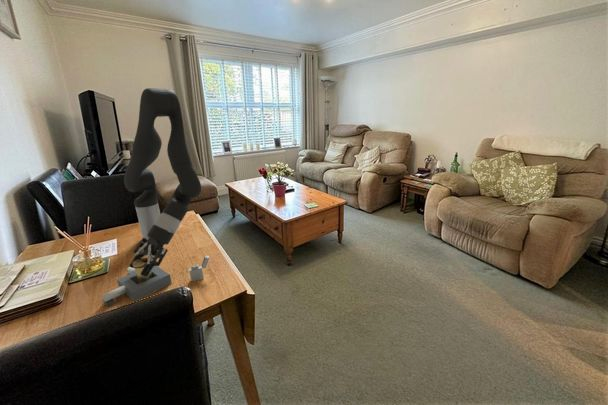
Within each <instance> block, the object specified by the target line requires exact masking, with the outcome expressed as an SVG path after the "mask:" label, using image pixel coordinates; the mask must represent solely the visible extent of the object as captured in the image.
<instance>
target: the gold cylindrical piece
mask: <svg viewBox="0 0 608 405" xmlns="http://www.w3.org/2000/svg"><path fill="white" fill-rule="evenodd" d="M147 262H148V257H143V258H141V259H138V260H136V261H134V262H133V263H132V264H133V267H134V269H135V273H136V276H137V280H138V284H137V285H139V284H141V283H143V282H145V281H147V280H149V279H151V278H153V277H152V273H151V271H150V273H149V274H148V276H146V277H145V276H142V275H141V272H142V270H143V269H144V267H145V265H146V264H147Z"/></svg>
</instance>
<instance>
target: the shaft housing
mask: <svg viewBox="0 0 608 405" xmlns="http://www.w3.org/2000/svg"><path fill="white" fill-rule="evenodd" d="M126 272H127V274H126V275H124V276H122V277H120V278H117V279H116V281H117V285H118V287H117V288H115V289H113V290H110V291H108V292H106V293H104V294H102V296H101V297H102V299H103V300H102V301H103V304H104V305H105V306H106V307H110V306H112V305H115V304H116V302H115V298H117V297H119V296H121V295H123V294H125V295H126V296H127V297H129V298H130V299H131V300H132V301H134V302H137V301H140V300H141V299H143V298H145V297H147V296H149V295H151V294H153V293H155V292H156V291H159V290H160V289H163V288H164V287H166V286H169V285H170V284H172V279H171V274H170V273H168V272H167V271H165V270H164V269H162V268H161V267H160V266H154V267H153V268H152V270H151V273H152V277H153V278H151V279H149V280H147V281H145V282H143V283H141V284H138V280H137V276H136V273H135V269H134V268H131V267H130V266H128V268H127V269H126Z"/></svg>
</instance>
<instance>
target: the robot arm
mask: <svg viewBox="0 0 608 405" xmlns="http://www.w3.org/2000/svg"><path fill="white" fill-rule="evenodd" d="M179 100H180V99H179V97H178V95H177V93H176V92H175V91H174V90H172V89H169V88H154V87H150V88H149V87H148V88H145V89H144V90H143V91H142V93H141V95H140V100H139V101H140V102H139V110H138V113H139V115H138V122H137V129H136V132H135V137H134V140H133V145H132V150H131V156H130V159H129V162H128V166H127V168H126V170H125V173H124V176H123V183H124V186H125V188H126V190H127V191H128V192H130V193H138V192H142V194H140V195H139V196H138V197H136V198H135V199H134V200H133V204H134V207H135V210H136V211H135V212H136V216H137V219H138V224H139V228H140V232H141V236H142V238H141V240H140V241H139V243H138V244H137V246H136V247H135V248H134V250H133V253H134V257H133V259H132V260H131V262H130V264H129V266H128V267H131V268H134V267H133V264H132V263H133V262H134V261H136V260H138V259H141V258H145V257H146V258H148V262H147V264H146V265H145V267H144V269H143V270H142V272H141V275H142V276H145V277H146V276H148V274H149V273H150V271H151V270H152V268H153V267H154V266H157V267H160V265H161V264H162V262H163V260H164V258H165V257H166V255H167V252H168V250H169V249H167V248H165V247H164V246H165V245H166V246H167V245H169V244H170V242H171V240H172V239H173V237H174V235H175V234H176V232H177V231H178V229H179V226H180V224H181V222H182V221H183V219H184V218H185V216H186V214H187V213H188V209H189V208H188V207H189V205H190V204H191V202H192V200H193V199H195V198H198V197H199V196H200V195H201V193H202V184H201V181H200V179H199V176H198V174H197V173H196V170H195V169H194V167H193V162H192V158H191V156H190V152H189V150H188V146H187V141H186V134H185V128H184V121H183V114H182V108H181V103H180V101H179ZM158 117H159V118H161V117H168V119H169V122H170V135H169V139H168V142H167V149H166V150H167V151H166V152H167V153H166V154H167V157H168V159H169V163H170V166H171V169H172V171H173V173H174V174H175V175H176V177H177V180H178V183H179V184H178V185H177V187H176V188H175V190H174V192H173V194H172V196H171V198H170V200H169V201H168V203H167V204H166V206H165V207H164V209H163V210H162V212H161V210H160V206H159V202H158V190H157V185H156V179H155V176H154V174H153V172H152V170H150V169H149V168H148V167H149V166H150V165H152V164H153V163H154V162H155V161H156V160H157V159H158V157H159V155H160V153H161V149H162V146H163V145H162V144H163V143H162V138H161V136H160V134H159V133H158V131H157V129H156V128H155V121H156V118H158Z"/></svg>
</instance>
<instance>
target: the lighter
mask: <svg viewBox="0 0 608 405" xmlns="http://www.w3.org/2000/svg"><path fill="white" fill-rule="evenodd" d="M209 261H210V256H209V255H204V257H203V260H202V264H201V265H200V266H199V264H194V265H192V266H191V267H190V268H188V270H189V276H190V281H191V282H195V281H198V280H203V279H204V273H203V269H206V268H207V266H208V263H209Z"/></svg>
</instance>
